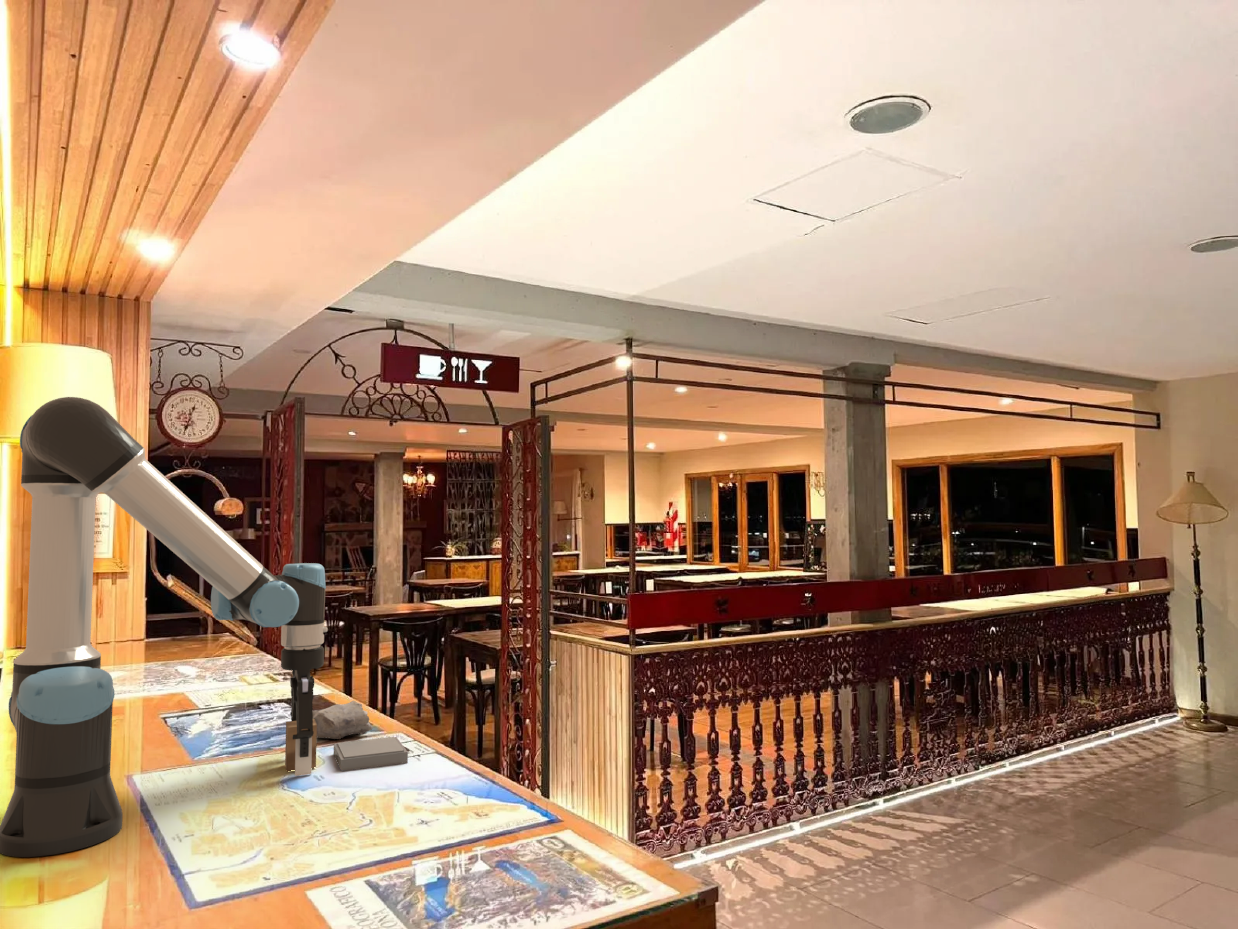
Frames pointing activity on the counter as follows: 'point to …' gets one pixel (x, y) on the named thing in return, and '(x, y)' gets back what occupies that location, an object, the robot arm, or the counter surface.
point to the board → (370, 753)
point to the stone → (341, 720)
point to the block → (291, 744)
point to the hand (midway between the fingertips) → (300, 765)
